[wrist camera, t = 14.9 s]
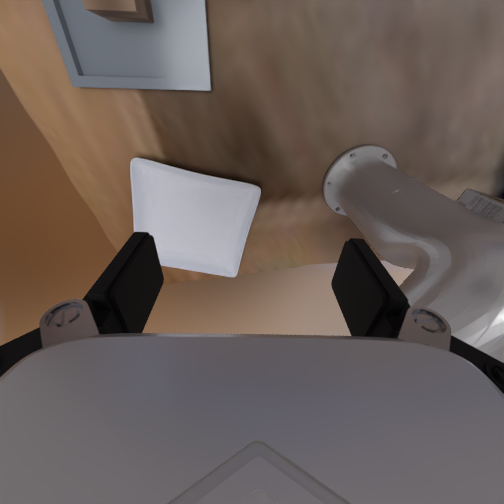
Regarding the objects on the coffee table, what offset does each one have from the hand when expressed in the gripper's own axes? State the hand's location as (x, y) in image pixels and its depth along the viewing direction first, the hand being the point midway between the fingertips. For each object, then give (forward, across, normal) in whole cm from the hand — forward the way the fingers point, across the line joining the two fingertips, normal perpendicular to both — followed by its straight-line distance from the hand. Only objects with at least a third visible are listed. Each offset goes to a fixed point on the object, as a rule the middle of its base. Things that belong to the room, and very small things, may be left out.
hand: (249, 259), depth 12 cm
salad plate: (+32, +10, +15) cm, 36 cm away
